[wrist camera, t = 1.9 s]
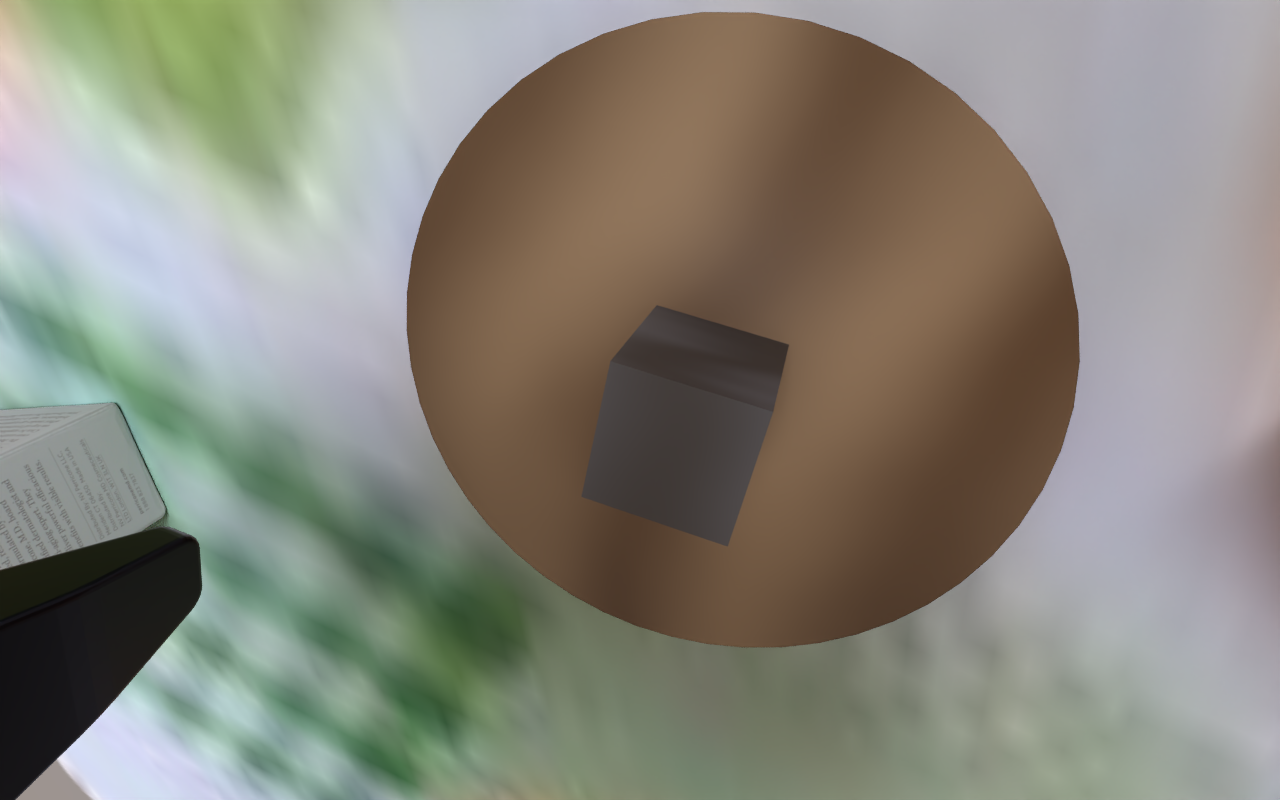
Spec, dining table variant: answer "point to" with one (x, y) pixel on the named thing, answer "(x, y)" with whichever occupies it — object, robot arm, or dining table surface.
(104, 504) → the skincare box
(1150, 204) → the dining table surface
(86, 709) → the robot arm
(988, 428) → the walnut lid
